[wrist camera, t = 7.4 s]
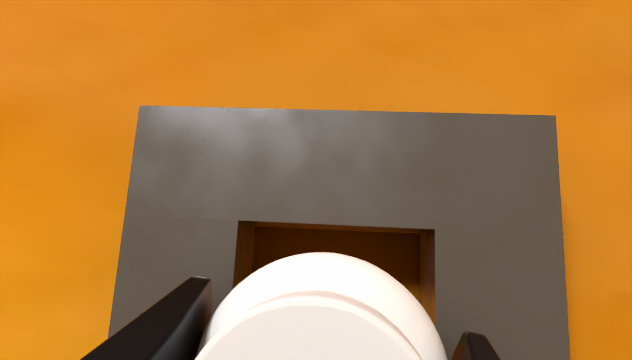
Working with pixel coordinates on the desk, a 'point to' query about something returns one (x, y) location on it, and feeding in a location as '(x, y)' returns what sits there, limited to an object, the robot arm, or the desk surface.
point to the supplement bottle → (320, 315)
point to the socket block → (357, 208)
